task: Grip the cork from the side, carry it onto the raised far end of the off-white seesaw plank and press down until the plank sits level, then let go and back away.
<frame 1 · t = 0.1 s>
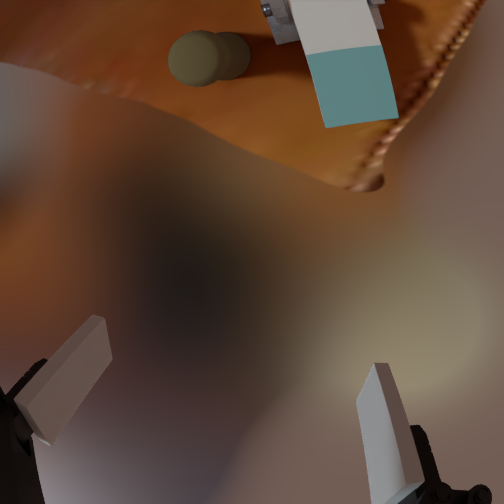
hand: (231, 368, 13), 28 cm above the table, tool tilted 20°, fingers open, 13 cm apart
stand: (321, 7, 22), on the table
cork: (224, 56, 28), on the table
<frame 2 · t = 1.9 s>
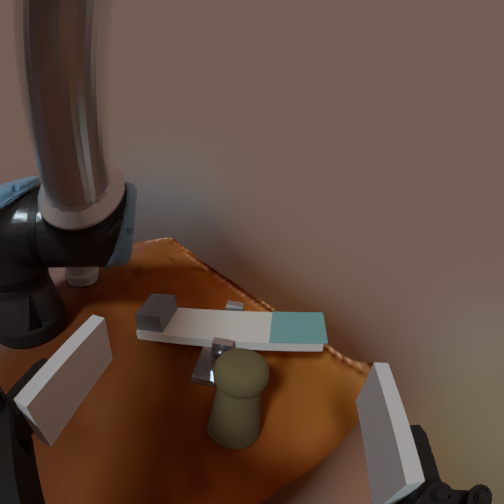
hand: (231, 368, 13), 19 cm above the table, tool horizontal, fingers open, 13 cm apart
stand: (226, 358, 40), on the table
cork: (233, 428, 29), on the table
mug: (88, 276, 57), on the table
beam: (230, 320, 38), point 7 cm above the table, hinge at -8.0°
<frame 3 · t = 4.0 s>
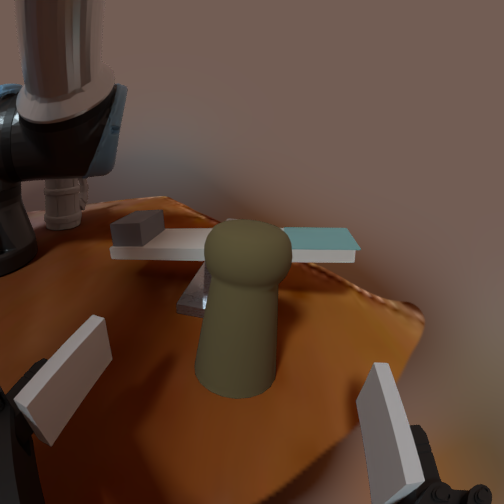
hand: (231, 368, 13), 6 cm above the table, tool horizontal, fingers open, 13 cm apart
stand: (225, 289, 32), on the table
cork: (235, 370, 21), on the table
mug: (69, 222, 49), on the table
beam: (230, 231, 30), point 7 cm above the table, hinge at -8.0°
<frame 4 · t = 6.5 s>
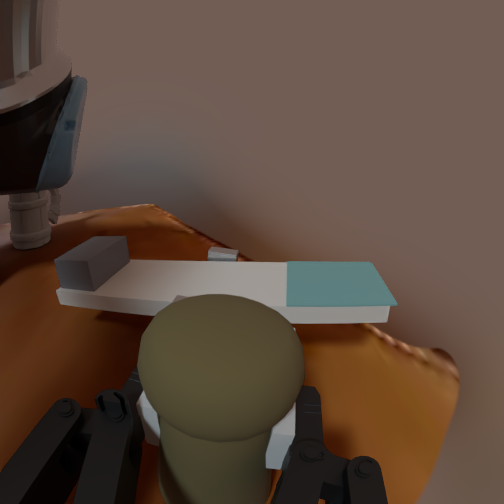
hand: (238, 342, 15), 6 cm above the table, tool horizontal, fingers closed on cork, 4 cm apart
stand: (207, 344, 23), on the table
cork: (214, 482, 12), on the table, touching gripper
mug: (39, 239, 40), on the table
beam: (212, 271, 21), point 7 cm above the table, hinge at -8.0°
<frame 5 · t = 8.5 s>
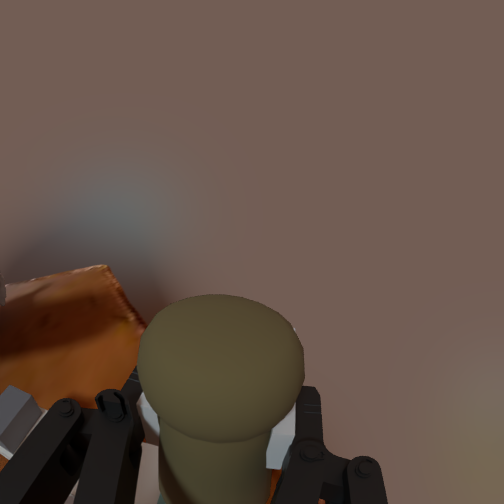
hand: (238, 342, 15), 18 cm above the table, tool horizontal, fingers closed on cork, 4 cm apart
cork: (214, 482, 12), point 12 cm above the table, touching gripper
beam: (97, 462, 15), point 7 cm above the table, hinge at -8.0°
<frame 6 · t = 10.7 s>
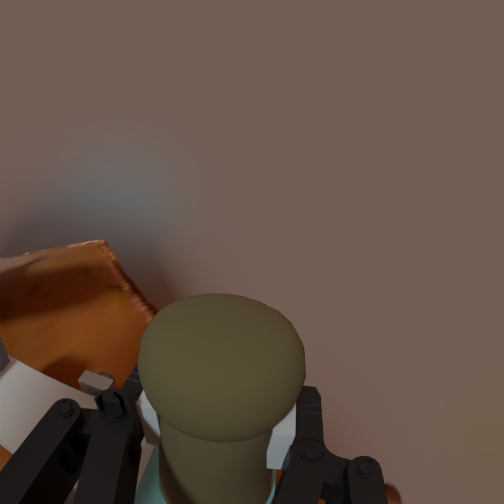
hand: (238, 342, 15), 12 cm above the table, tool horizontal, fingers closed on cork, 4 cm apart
stand: (93, 471, 15), on the table
cork: (214, 482, 12), point 6 cm above the table, touching beam, gripper
beam: (67, 426, 13), point 7 cm above the table, hinge at 0.1°, touching cork
when the fingers open (12 cm above the table, at t = 10.7 s): cork stays where it is, resting on beam.
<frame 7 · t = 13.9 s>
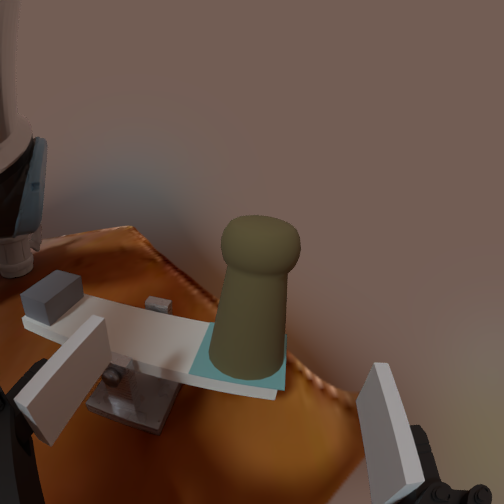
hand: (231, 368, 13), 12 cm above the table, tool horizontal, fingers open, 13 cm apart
stand: (146, 379, 26), on the table
cork: (246, 356, 23), point 6 cm above the table, touching beam
mug: (24, 266, 42), on the table
beam: (141, 326, 23), point 7 cm above the table, hinge at 0.1°, touching cork
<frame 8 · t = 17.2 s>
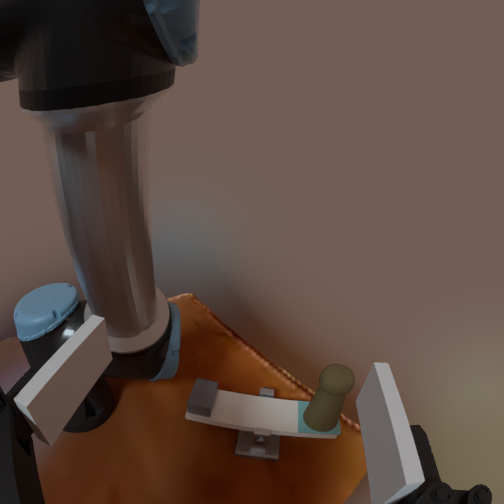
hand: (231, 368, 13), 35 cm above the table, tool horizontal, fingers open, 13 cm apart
stand: (259, 432, 45), on the table
cork: (320, 418, 42), point 6 cm above the table, touching beam
beam: (266, 410, 43), point 7 cm above the table, hinge at 0.1°, touching cork
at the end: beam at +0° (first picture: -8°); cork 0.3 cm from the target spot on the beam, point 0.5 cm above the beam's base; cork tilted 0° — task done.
